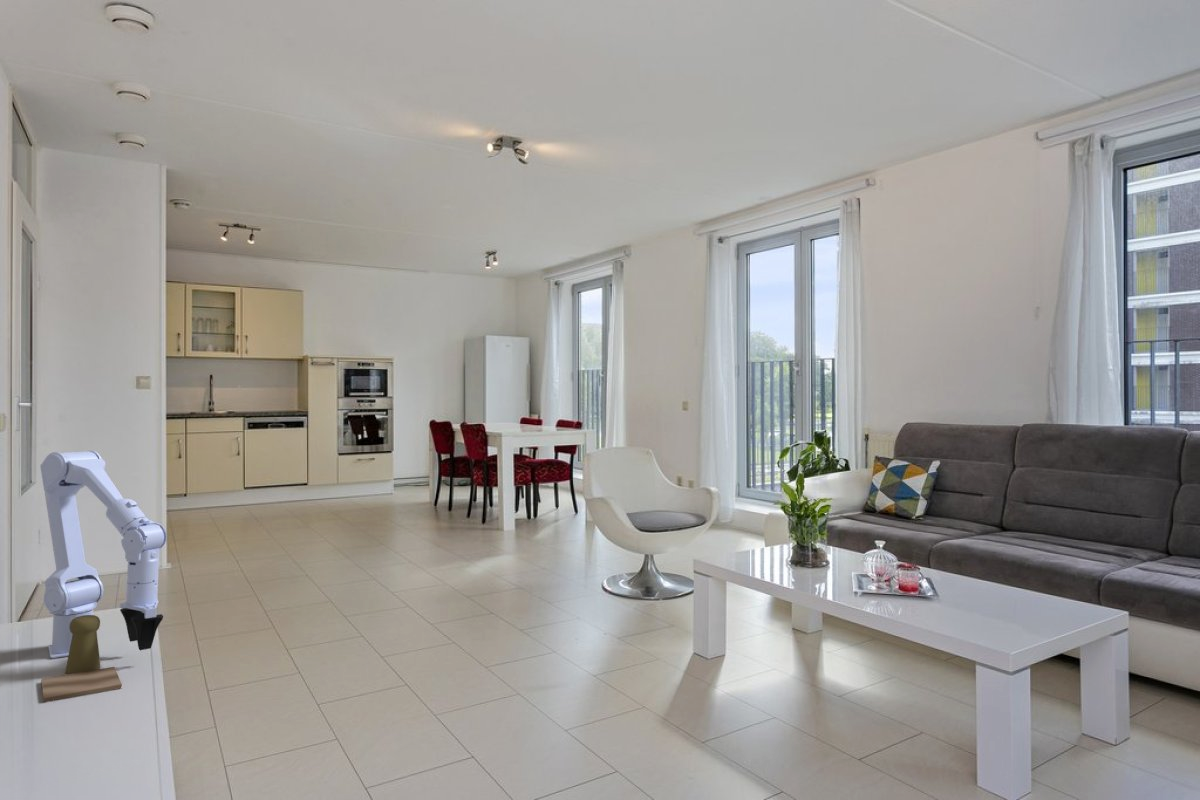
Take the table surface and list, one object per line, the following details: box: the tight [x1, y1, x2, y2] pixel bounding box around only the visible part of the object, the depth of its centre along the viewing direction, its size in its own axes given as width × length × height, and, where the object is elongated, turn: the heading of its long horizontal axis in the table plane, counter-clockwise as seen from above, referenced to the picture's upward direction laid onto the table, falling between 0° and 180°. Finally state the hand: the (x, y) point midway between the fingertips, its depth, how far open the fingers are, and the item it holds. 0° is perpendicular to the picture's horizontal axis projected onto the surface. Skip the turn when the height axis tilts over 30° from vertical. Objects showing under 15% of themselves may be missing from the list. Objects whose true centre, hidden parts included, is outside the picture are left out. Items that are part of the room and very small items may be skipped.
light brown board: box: [40, 666, 123, 703], centre depth 142 cm, size 12×12×1 cm
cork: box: [64, 614, 102, 675], centre depth 151 cm, size 6×6×11 cm
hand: (140, 644), depth 157 cm, fingers open, 7 cm apart
